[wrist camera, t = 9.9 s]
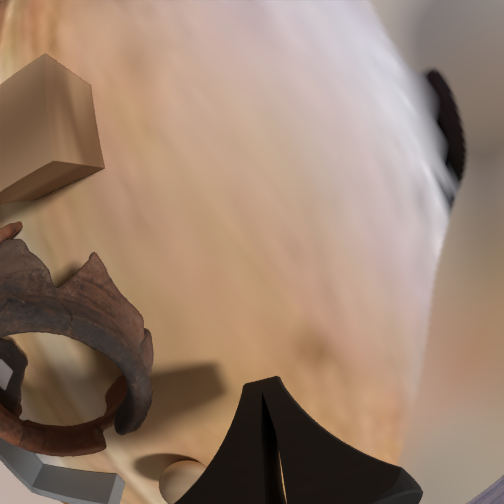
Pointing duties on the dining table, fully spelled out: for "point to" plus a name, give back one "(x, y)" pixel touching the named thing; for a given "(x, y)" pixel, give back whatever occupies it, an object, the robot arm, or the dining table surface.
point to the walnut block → (45, 131)
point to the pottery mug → (78, 328)
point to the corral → (61, 479)
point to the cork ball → (179, 479)
